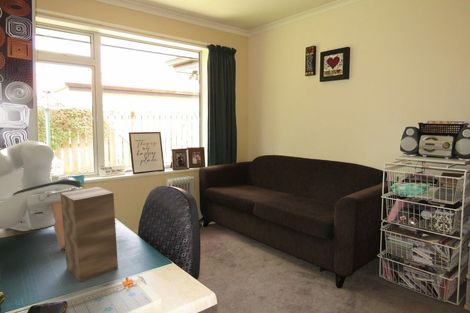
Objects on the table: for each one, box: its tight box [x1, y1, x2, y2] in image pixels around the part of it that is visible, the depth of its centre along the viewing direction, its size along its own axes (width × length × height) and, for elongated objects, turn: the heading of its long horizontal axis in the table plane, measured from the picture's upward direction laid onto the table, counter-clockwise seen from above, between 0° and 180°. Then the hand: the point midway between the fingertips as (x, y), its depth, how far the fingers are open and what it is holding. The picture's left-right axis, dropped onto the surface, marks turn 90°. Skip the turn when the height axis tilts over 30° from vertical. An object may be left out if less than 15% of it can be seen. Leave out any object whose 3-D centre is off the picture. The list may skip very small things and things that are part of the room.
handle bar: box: [51, 202, 65, 251], centre depth 121 cm, size 20×5×5 cm
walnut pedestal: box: [60, 186, 119, 283], centre depth 102 cm, size 12×12×26 cm
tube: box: [67, 174, 85, 189], centre depth 162 cm, size 7×5×19 cm, turn 123°
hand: (61, 191), depth 118 cm, fingers open, 8 cm apart
